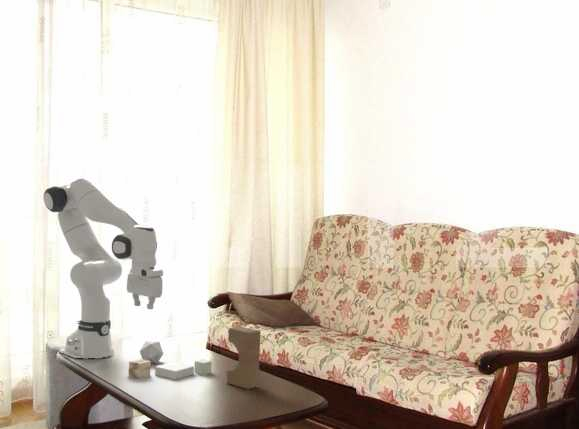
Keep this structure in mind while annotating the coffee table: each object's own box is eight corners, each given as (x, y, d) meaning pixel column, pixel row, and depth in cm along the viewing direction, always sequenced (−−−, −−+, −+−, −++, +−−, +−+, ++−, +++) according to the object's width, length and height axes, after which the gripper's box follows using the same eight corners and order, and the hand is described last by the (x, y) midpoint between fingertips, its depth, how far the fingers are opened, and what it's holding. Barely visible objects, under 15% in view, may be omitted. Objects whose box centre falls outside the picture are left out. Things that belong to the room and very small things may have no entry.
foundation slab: (155, 374, 268) (155, 366, 268) (173, 369, 277) (174, 361, 277) (175, 379, 263) (175, 371, 263) (193, 374, 271) (194, 366, 271)
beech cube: (128, 376, 265) (128, 361, 265) (139, 373, 270) (140, 358, 270) (139, 378, 262) (139, 363, 262) (150, 376, 267) (150, 361, 267)
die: (151, 368, 280) (167, 346, 283) (132, 355, 281) (148, 333, 284) (154, 370, 288) (169, 349, 291) (136, 358, 289) (151, 337, 292)
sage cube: (194, 373, 273) (194, 361, 273) (202, 370, 277) (202, 359, 277) (203, 375, 271) (203, 363, 271) (211, 372, 274) (211, 361, 274)
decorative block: (225, 383, 261) (227, 327, 260) (237, 380, 265) (239, 325, 264) (247, 390, 253) (249, 332, 252) (259, 387, 257) (261, 330, 257)
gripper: (122, 267, 273) (122, 304, 273) (150, 272, 257) (149, 311, 257) (137, 266, 277) (137, 303, 277) (165, 271, 261) (165, 310, 262)
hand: (143, 307), depth 267 cm, fingers open, 8 cm apart
